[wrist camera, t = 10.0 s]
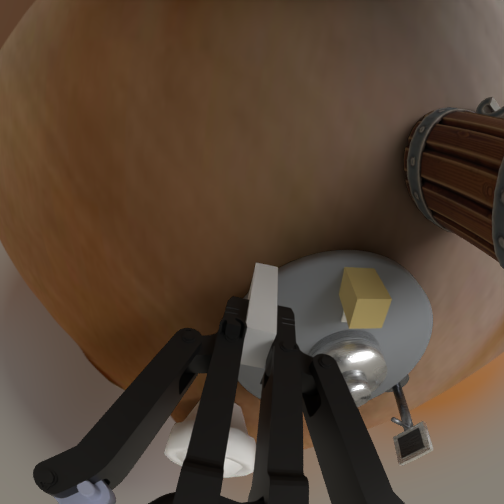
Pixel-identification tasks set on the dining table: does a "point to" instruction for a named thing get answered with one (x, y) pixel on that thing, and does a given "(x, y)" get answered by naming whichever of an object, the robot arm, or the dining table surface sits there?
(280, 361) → the robot arm
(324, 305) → the turntable
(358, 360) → the cover
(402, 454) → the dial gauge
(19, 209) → the dining table surface
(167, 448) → the potted plant
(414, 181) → the mug
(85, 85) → the dining table surface
